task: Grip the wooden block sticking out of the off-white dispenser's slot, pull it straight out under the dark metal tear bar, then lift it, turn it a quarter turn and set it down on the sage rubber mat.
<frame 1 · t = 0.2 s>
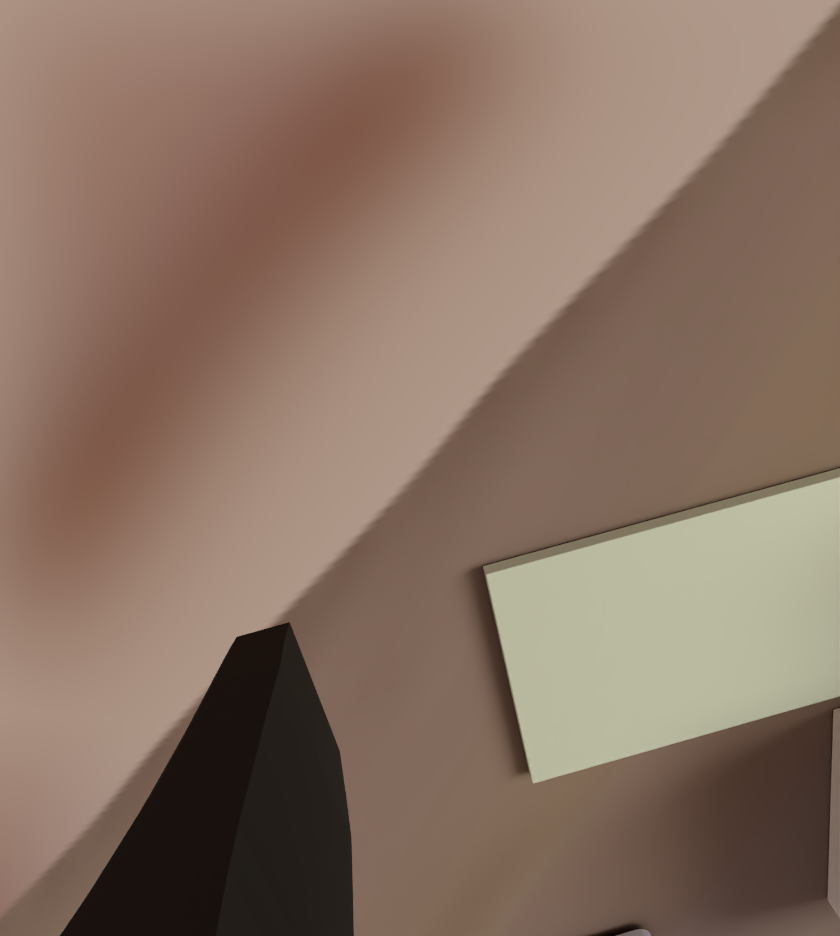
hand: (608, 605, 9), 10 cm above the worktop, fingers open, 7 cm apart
mat: (706, 622, 23), on the worktop
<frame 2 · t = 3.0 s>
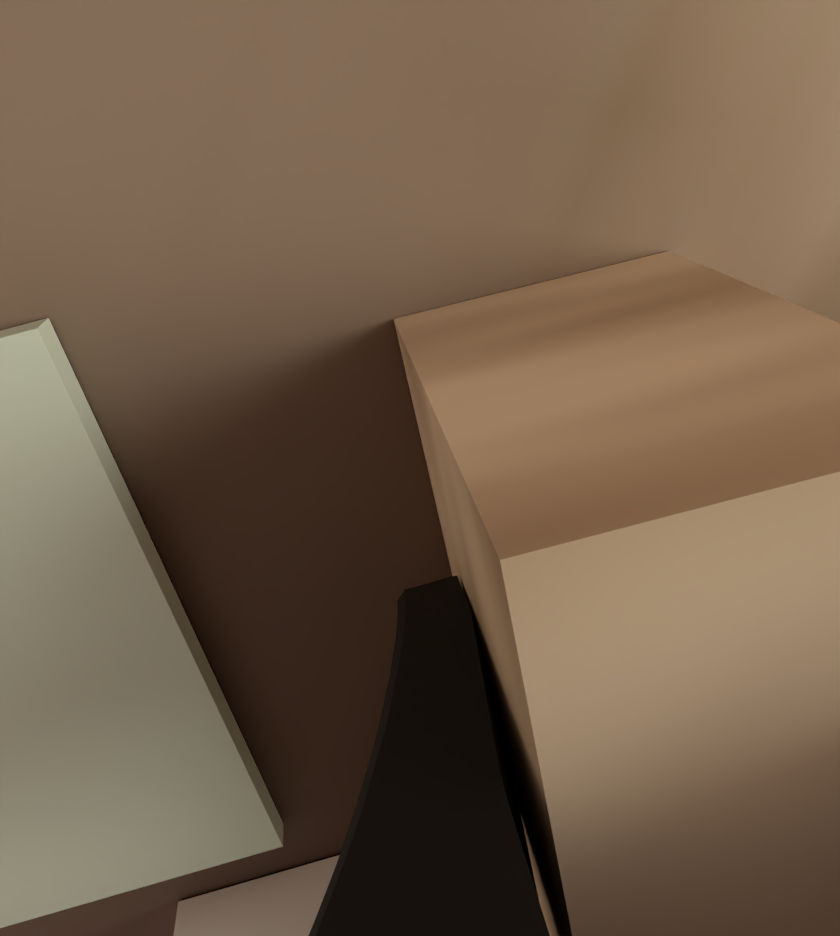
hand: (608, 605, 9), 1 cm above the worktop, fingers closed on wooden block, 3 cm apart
wooden block: (581, 630, 11), on the worktop, touching gripper
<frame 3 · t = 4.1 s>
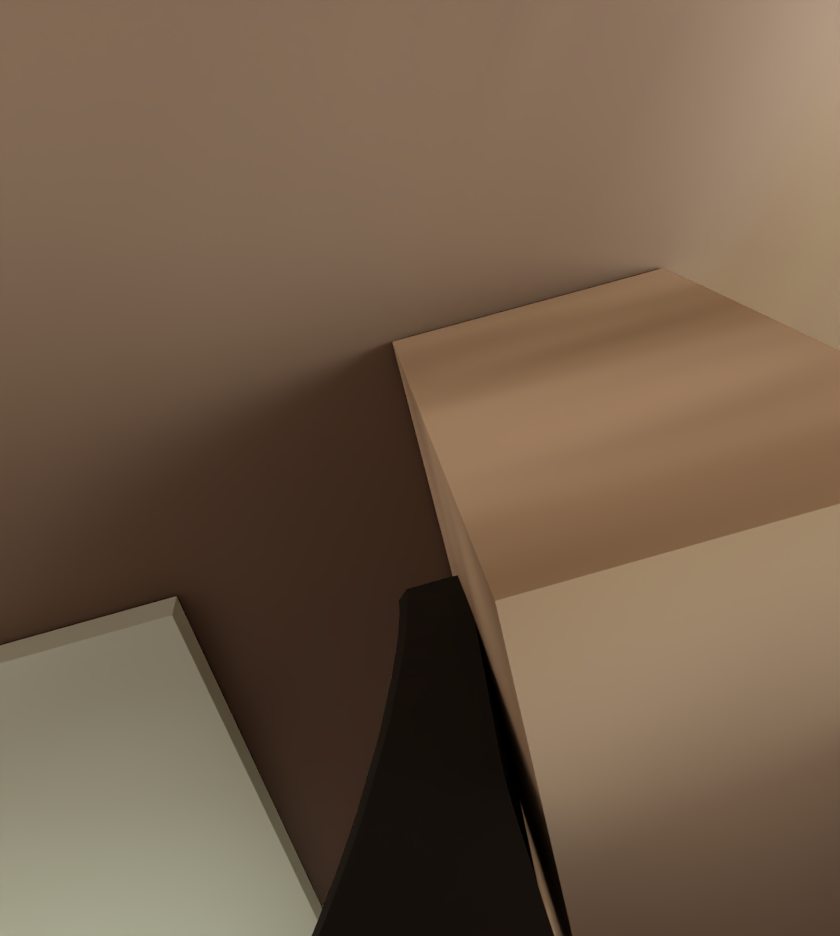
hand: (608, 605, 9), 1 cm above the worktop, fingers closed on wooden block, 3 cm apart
wooden block: (586, 642, 11), on the worktop, touching gripper
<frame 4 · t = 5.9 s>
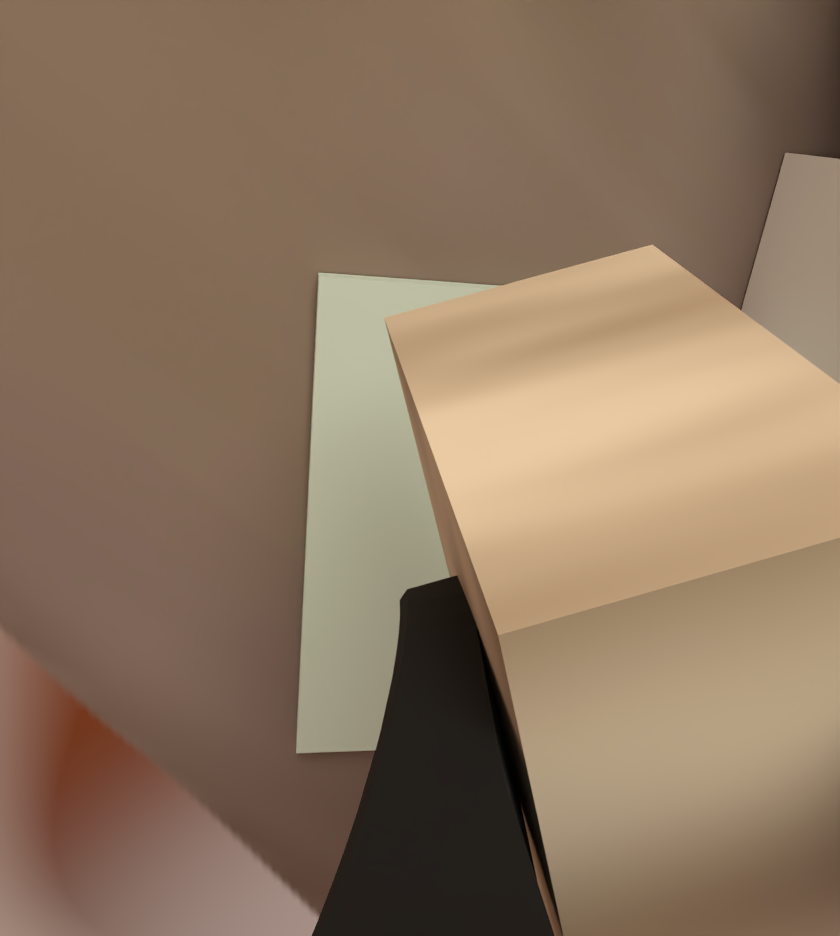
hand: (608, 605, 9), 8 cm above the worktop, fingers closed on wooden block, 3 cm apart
mat: (477, 542, 18), on the worktop
wooden block: (561, 588, 12), point 6 cm above the worktop, tilted 8°, touching gripper
when the fingers open (3 cm above the worktop, at t = 7.9 s): wooden block stays where it is, resting on mat.
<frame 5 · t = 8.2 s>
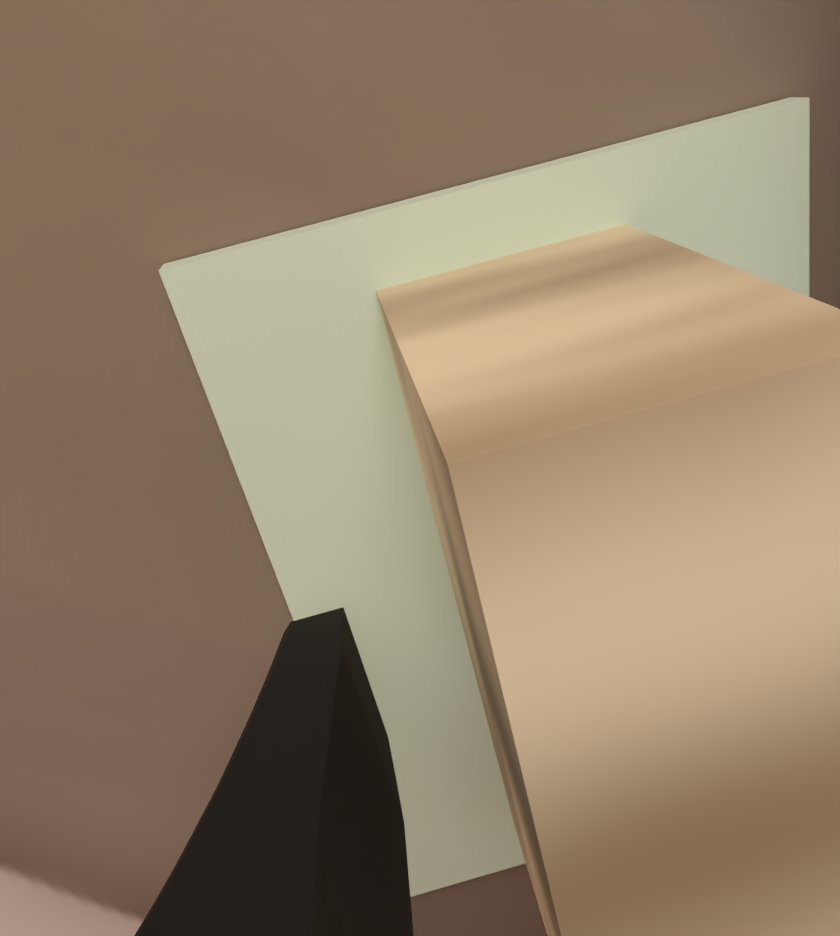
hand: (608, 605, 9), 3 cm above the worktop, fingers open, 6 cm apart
mat: (552, 571, 12), on the worktop
wooden block: (559, 580, 12), resting on mat
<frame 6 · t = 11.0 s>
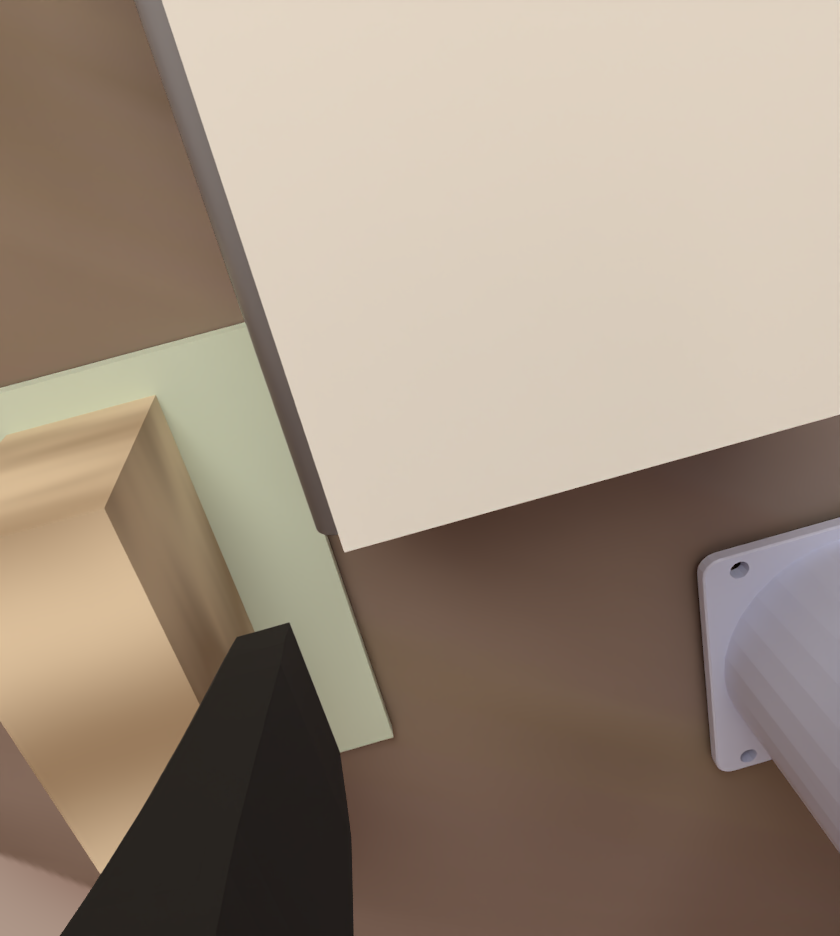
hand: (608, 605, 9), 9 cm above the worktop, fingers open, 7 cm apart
mat: (174, 596, 19), on the worktop
wooden block: (169, 602, 19), resting on mat
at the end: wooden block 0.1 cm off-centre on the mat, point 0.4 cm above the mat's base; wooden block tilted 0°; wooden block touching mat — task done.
